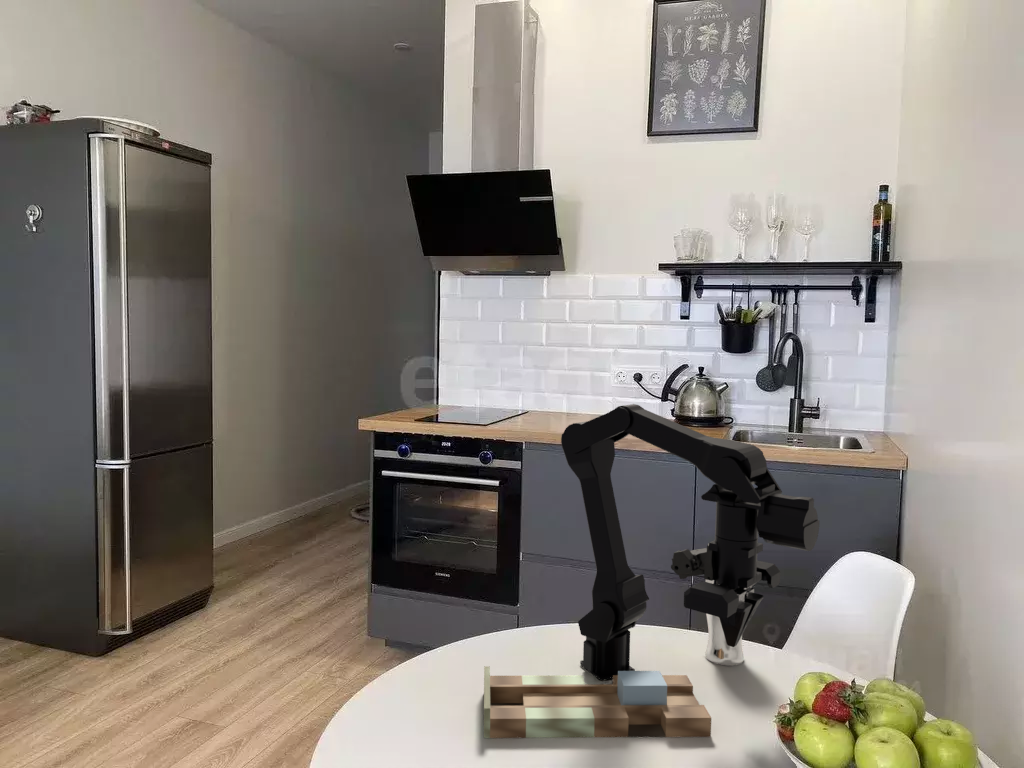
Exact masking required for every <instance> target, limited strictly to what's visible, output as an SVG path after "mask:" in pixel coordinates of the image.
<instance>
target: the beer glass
mask: <svg viewBox="0 0 1024 768" xmlns="http://www.w3.org/2000/svg"><path fill="white" fill-rule="evenodd" d="M704 582H708V583H712V584H716V585H717V583H716V582H717V581H715V580H713V581H710V580H706V579H705V581H704ZM705 615H706V621H707V627H708V635H707V636H708V638H707V639H708V640H707V645H706V648H705V652H704V653H705V658H706V659H707V660H708V661H709V662H712V663H713V664H717V665H720V666H727V667H731V666H739V665H741V664H742V663H743V662H744V651H743V640H742V639H743V635H742V636H741V638H740V640H739V642H738V644H737V645H736V646H735V647H731V646H728V645H727V643H726V639H725V636H724V632H723V629H722V625H721V622H720V618H719V617H717V616H713V615H710V614H706V613H705Z"/></svg>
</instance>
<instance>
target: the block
mask: <svg viewBox="0 0 1024 768" xmlns="http://www.w3.org/2000/svg"><path fill="white" fill-rule="evenodd" d="M662 675H663V674H662V673H661V671H660V670H635V671H618V688H617V695H618V698H619V701H620V704H621V705H667V684H666V682H665V680H664V678H663V676H662Z"/></svg>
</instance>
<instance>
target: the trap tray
mask: <svg viewBox="0 0 1024 768" xmlns="http://www.w3.org/2000/svg"><path fill="white" fill-rule="evenodd" d="M483 670H484V671H483V674H484V675H483V676H484V677H483V685H484V686H483V739H519V738H520V739H521V738H522V739H529V738H531V739H533V738H537V739H539V738H545V739H548V738H550V739H551V738H552V739H553V738H555V739H556V738H562V739H563V738H681V737H682V738H691V737H692V738H694V737H695V738H697V737H698V738H700V737H701V738H702V737H703V738H708V737H709V738H710V737H711V735H712V717H711V715H710V713H709V711H708V710H707V708H706V706H705V704H700V703H699V701H698V699H697V697H696V695H695V694H694V685H693V683H692V682H691V680H690V678H689V677H688V675H687V674H674V675H673V674H665V675H663V674H662V676H663V678H664V680H665V682H666V684H667V705H621V704H620V701H619V698H618V695H617V688H618V675H613V678H612V684H609V683H608V684H606V683H605V684H603V683H602V684H601V683H600V684H597V683H596V684H590V683H589V684H586V683H585V679H584V676H583V674H582V675H581V674H579V675H575V674H574V675H567V674H566V675H562V674H561V675H491V672H490V671H491V667H490V666H489V665H486V666H484V667H483Z"/></svg>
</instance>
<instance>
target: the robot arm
mask: <svg viewBox="0 0 1024 768" xmlns="http://www.w3.org/2000/svg"><path fill="white" fill-rule="evenodd" d="M629 435H631V436H632V437H633V438H637V439H638V440H641V441H643V442H646V443H648V444H650V445H652V446H654V447H657V448H659V449H661V450H663V451H665V452H667V453H669V454H671V455H674V456H676V457H678V458H680V459H682V460H684V461H687V462H688V463H691V464H692V465H693V466H694V467H695V468H697V470H698V471H699V472H700V473H701V474H702V475H703V476H704V477H705V478H707V480H708V479H709V480H710V481H711V482H713V484H712V486H711V487H710V488H709V489H708V490H707V491H706V492H704V493H703V494H701V496H700V498H701V500H703V501H707V502H712V503H715V520H714V521H715V523H714V528H715V529H714V540H712V541H709V542H708V543H707V546H706V547H705V548H699V549H693V550H690V549H689V548H687V549H683V550H677V551H674V552H673V555H672V558H671V561H672V563H671V565H670V569H671V570H672V571H673V572H674V573H675V575H677V576H678V578H679V579H680V580H684V579H687V578H689V577H696V576H702V575H703V580H702V581H700V582H697V583H696V584H694V585H692V586H690V587H689V588H688V589H686V590H685V591H684V593H683V607H684V608H685V609H688V610H692V611H695V612H699V613H704V614H705V615H706V614H710V615H713V616H717V617H719V618H720V622H721V625H722V629H723V632H724V636H725V639H726V643H727V645H728V646H731V647H735V646H736V645H737V644H738V642H739V640H740V638H741V636H742V637H743V634H744V632H745V630H746V629H747V626H748V625H749V624H750V621H751V620H752V618H753V616H754V614H755V612H756V611H757V609H758V607H759V605H760V604H761V601H763V599H764V596H765V595H763V594H761V593H760V594H759V593H756V592H755V588H754V587H753V586H754V585H756V584H758V583H759V582H760V581H763V582H766V584H767V586H768V588H771V589H774V588H776V587H777V586H779V585H780V584H781V570H780V569H779V568H778V567H777V565H776V564H774V563H772V562H771V563H770V562H767V561H761V560H758V554H759V553H761V552H763V547H764V544H763V542H758V540H759V538H761V539H762V540H763V541H764V542H765V543H767V544H771V545H777V546H782V547H787V548H792V549H797V550H802V551H806V552H812V550H813V549H814V548H815V546H816V544H817V540H818V536H819V531H820V520H819V517H818V512H817V509H816V508H815V507H814V506H815V503H814V502H815V499H814V497H809V496H794V495H787V494H782V493H783V491H782V489H781V487H780V486H779V484H778V483H777V481H776V480H775V478H774V476H773V475H772V473H771V472H770V469H769V468H768V465H767V459H766V457H765V455H764V452H763V450H761V449H760V448H759V446H756V445H754V444H750V443H745V442H741V441H737V440H734V439H726V438H719V437H714V436H709V435H705V434H704V433H701V432H699V431H696V430H694V429H691V428H689V427H686V426H684V425H682V424H679V423H678V422H675V421H673V420H670V419H667V418H666V417H664V416H661V415H659V414H657V413H654V412H651V411H649V410H647V409H644V407H642V406H641V405H639V404H635V403H632V404H624V405H623V404H622V405H620V406H619V405H618V406H617V407H615V408H614V409H612V410H611V411H609V412H607V413H604V414H602V415H600V416H598V417H595V418H592V419H590V420H587V421H581V422H573V423H571V424H569V425H568V426H566V427H565V429H564V431H563V432H562V434H561V436H560V442H561V443H560V444H561V445H560V446H561V448H562V451H563V455H564V457H565V460H566V463H567V466H568V467H569V468H570V470H571V471H572V472H573V473H574V475H575V476H576V478H577V479H578V480H579V484H580V488H581V489H580V490H581V494H582V498H583V504H584V510H585V516H586V521H587V526H588V531H589V536H590V542H591V548H592V552H593V558H594V563H595V568H596V570H595V571H596V573H595V577H594V581H593V585H592V586H593V587H592V588H591V589H592V590H591V601H592V603H591V604H592V608H591V610H590V611H589V612H588V613H586V614H584V616H583V617H581V618H580V620H579V619H578V621H577V624H578V628H579V632H580V635H581V636H583V637H585V640H584V641H583V649H582V650H583V653H582V654H583V655H582V656H583V657H582V659H581V660H580V662H579V663H580V664H579V665H580V666H581V667H583V668H584V669H585V670H586V671H588V672H589V673H590V674H591V675H593V676H594V677H596V678H597V679H598V681H604V680H609V679H613V675H618V671H636V669H635V668H633V667H632V666H631V665H630V655H631V654H630V653H631V652H630V651H631V650H630V649H631V648H630V647H631V631H630V629H632V628H635V627H636V624H637V621H638V620H639V619H641V618H642V617H643V616H644V614H645V612H646V611H647V602H648V601H650V598H649V595H648V593H647V590H646V584H645V583H646V581H645V577H644V575H643V574H637V575H636V574H635V573H634V571H633V570H632V569H631V568H630V566H629V564H628V560H627V555H626V550H625V545H624V539H623V534H622V530H621V523H620V520H619V513H618V509H617V503H616V497H615V493H614V487H613V481H612V478H611V477H612V476H611V475H612V474H611V473H612V469H613V466H614V465H613V464H614V461H615V456H616V453H615V451H616V450H615V449H616V448H615V447H616V446H615V443H617V442H619V441H621V440H622V439H623V440H624V439H625V438H626V437H628V436H629ZM753 485H755V486H756V487H754V486H753ZM704 580H705V581H706V580H710V581H713V580H715V581H717V582H716V583H717V585H716V584H712V583H708V582H705V581H704Z"/></svg>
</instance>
